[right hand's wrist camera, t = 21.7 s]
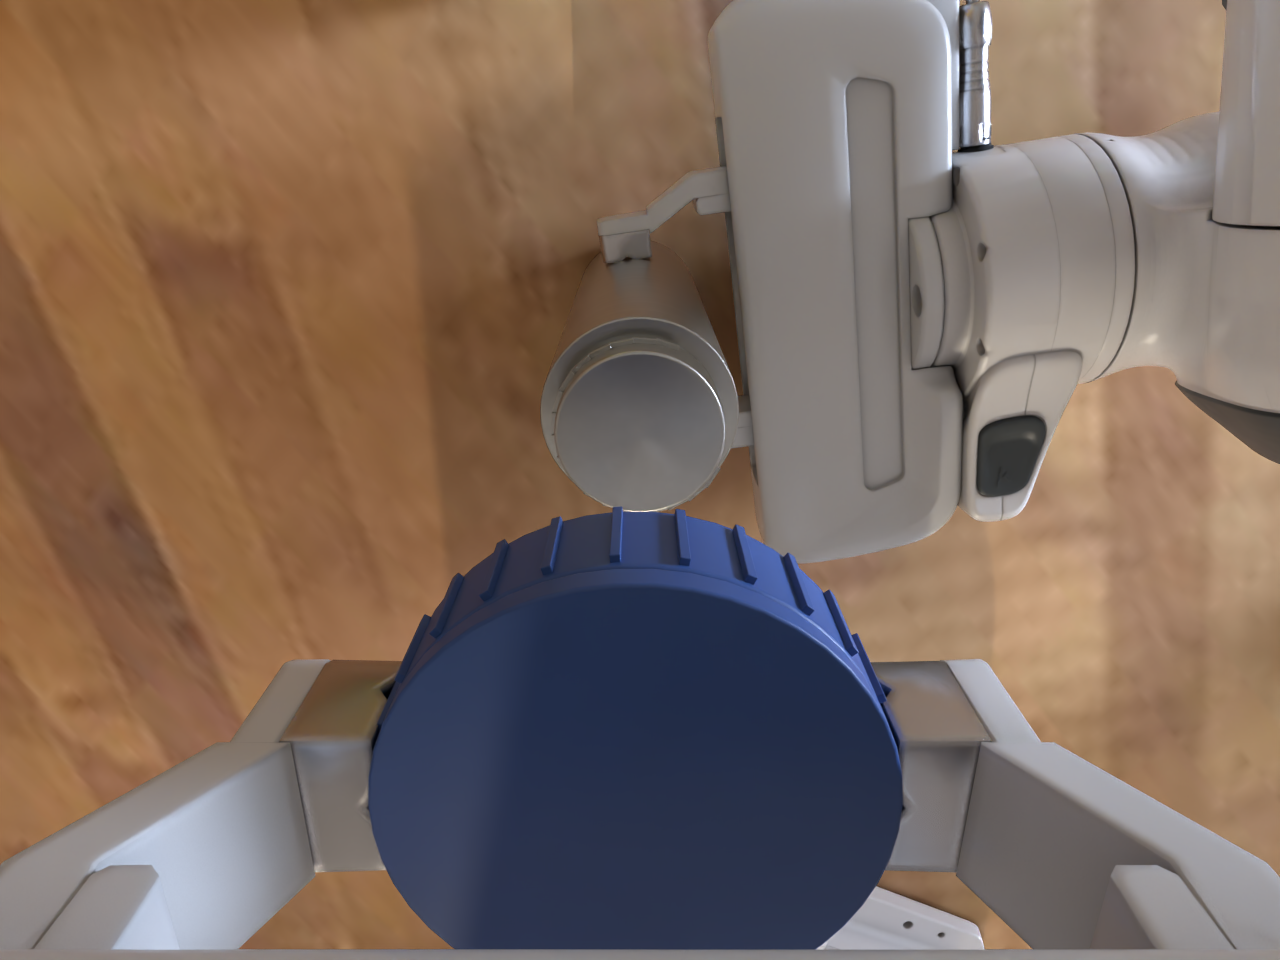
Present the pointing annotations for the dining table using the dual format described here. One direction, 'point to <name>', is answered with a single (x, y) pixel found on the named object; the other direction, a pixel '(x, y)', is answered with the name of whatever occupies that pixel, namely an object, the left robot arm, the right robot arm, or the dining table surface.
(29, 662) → the dining table surface
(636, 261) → the jar
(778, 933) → the lid
